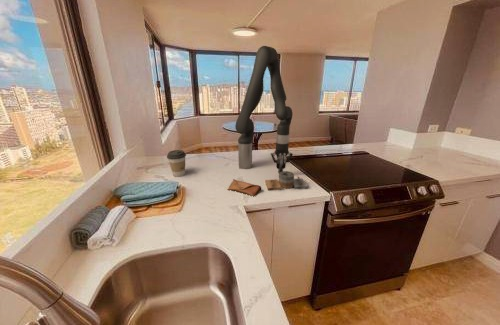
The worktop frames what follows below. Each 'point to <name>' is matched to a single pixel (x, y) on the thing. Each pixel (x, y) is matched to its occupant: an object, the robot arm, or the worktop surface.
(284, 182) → the hinge leaves
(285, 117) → the robot arm
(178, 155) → the coffee cup
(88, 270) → the worktop surface
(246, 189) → the sunglasses case
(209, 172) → the worktop surface
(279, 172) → the hinge pin
